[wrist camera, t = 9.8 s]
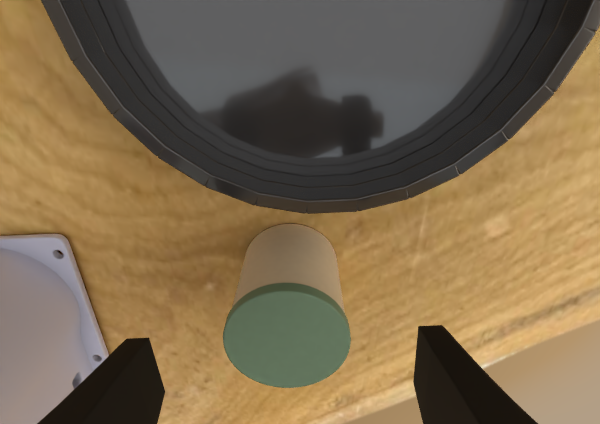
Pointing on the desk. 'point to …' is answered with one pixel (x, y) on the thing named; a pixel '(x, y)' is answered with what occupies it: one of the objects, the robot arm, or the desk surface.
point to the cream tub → (288, 310)
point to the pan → (324, 87)
